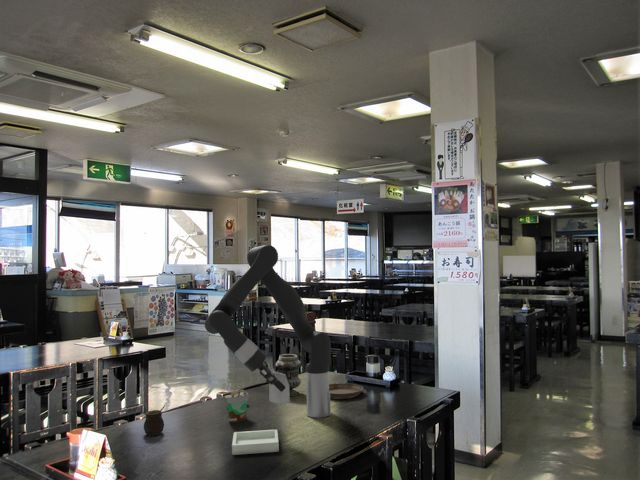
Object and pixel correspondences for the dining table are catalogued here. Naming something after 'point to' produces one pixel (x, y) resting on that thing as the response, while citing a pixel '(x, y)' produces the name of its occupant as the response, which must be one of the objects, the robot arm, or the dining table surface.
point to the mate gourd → (154, 422)
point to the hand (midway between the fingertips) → (283, 386)
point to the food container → (237, 407)
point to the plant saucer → (344, 390)
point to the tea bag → (275, 393)
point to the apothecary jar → (290, 371)
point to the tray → (255, 442)
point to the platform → (232, 394)
